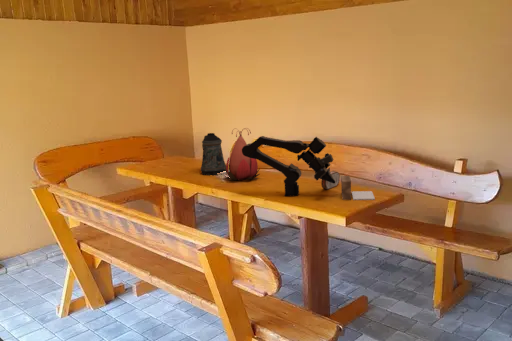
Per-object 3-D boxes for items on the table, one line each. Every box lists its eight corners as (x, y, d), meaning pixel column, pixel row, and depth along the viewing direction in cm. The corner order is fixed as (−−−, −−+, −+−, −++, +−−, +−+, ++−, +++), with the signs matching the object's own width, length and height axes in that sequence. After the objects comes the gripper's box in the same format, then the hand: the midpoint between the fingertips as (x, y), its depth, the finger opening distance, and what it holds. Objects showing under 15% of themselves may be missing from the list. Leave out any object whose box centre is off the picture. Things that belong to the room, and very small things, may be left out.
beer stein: (216, 176, 293) (214, 135, 288) (191, 174, 304) (189, 135, 298) (232, 171, 307) (229, 132, 302) (207, 169, 317) (205, 131, 312)
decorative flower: (266, 176, 288) (264, 126, 282) (248, 185, 268) (245, 131, 262) (234, 174, 298) (231, 126, 292) (214, 182, 278) (211, 131, 272)
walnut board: (342, 199, 229) (342, 181, 228) (341, 193, 241) (341, 175, 239) (351, 199, 229) (350, 181, 227) (349, 193, 240) (349, 175, 239)
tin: (335, 184, 260) (335, 169, 258) (340, 185, 258) (340, 169, 256) (320, 190, 249) (320, 174, 247) (326, 191, 247) (325, 175, 245)
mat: (353, 200, 228) (353, 198, 228) (351, 192, 241) (351, 191, 241) (374, 199, 226) (374, 198, 226) (371, 192, 240) (371, 191, 240)
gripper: (320, 152, 225) (344, 175, 224) (325, 146, 242) (348, 167, 241) (304, 168, 228) (328, 191, 228) (310, 161, 246) (332, 182, 245)
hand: (334, 182), depth 235 cm, fingers closed
